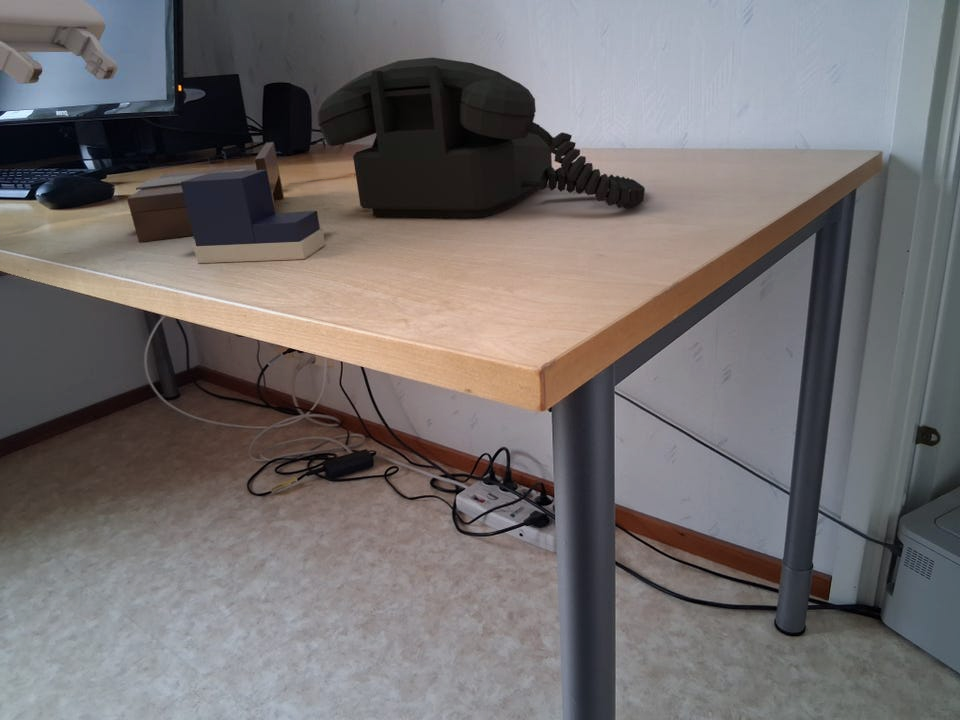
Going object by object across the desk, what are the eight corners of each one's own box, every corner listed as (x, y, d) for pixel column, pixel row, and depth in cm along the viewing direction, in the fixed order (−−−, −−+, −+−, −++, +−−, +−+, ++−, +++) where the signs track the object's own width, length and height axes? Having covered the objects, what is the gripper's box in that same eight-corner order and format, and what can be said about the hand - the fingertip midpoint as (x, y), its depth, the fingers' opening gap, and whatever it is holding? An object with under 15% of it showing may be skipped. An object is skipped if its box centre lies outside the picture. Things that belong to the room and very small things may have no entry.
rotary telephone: (672, 181, 79) (676, 36, 73) (626, 225, 61) (626, 38, 55) (417, 183, 93) (404, 62, 87) (319, 219, 75) (294, 69, 69)
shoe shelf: (133, 243, 71) (114, 173, 69) (169, 210, 89) (155, 153, 87) (277, 225, 74) (264, 157, 71) (284, 196, 92) (273, 141, 89)
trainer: (197, 263, 61) (177, 182, 58) (225, 249, 65) (207, 173, 62) (304, 259, 59) (288, 175, 56) (325, 244, 63) (312, 166, 61)
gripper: (14, -1, 67) (133, 98, 69) (-208, -21, 49) (-37, 114, 51) (39, -60, 65) (161, 44, 67) (-186, -104, 46) (-7, 41, 48)
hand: (74, 75), depth 59 cm, fingers open, 8 cm apart
